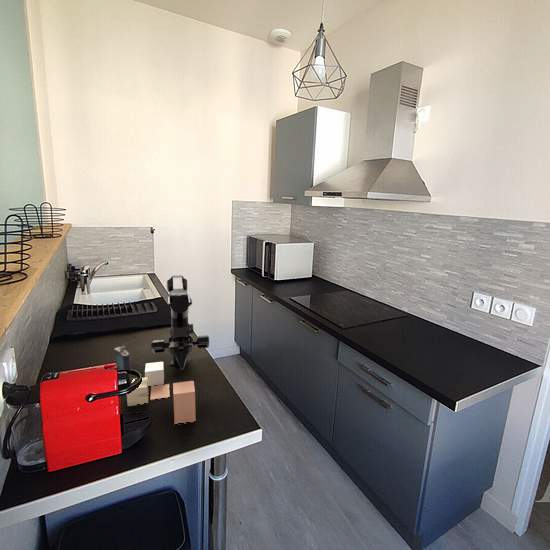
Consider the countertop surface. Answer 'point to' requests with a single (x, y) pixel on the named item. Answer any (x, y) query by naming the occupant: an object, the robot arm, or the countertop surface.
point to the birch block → (139, 393)
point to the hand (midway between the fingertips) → (182, 369)
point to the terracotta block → (184, 402)
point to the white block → (155, 373)
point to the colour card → (160, 392)
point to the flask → (122, 358)
